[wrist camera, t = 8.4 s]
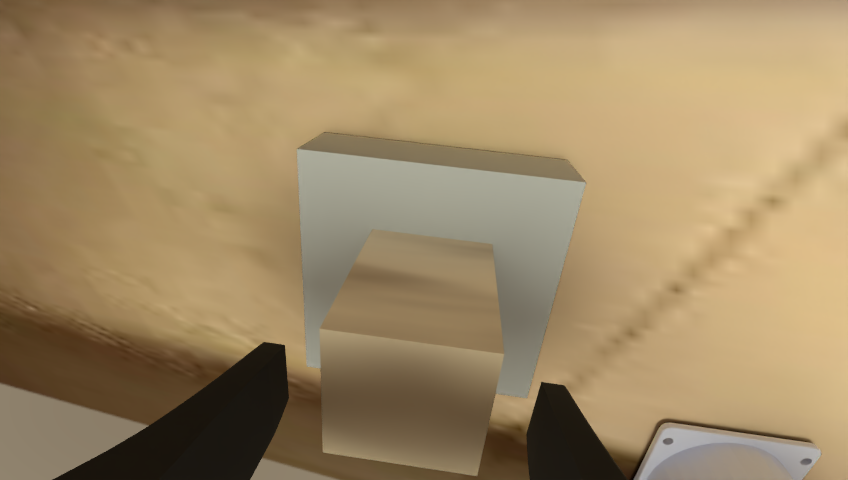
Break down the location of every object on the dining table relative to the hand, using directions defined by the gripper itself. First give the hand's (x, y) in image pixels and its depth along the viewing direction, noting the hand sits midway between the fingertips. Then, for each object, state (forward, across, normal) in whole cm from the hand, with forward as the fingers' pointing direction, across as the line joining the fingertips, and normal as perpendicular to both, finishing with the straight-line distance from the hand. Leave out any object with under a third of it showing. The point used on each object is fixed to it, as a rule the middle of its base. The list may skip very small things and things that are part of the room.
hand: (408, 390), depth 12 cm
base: (+8, 0, 0) cm, 8 cm away
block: (+5, 0, 0) cm, 5 cm away
